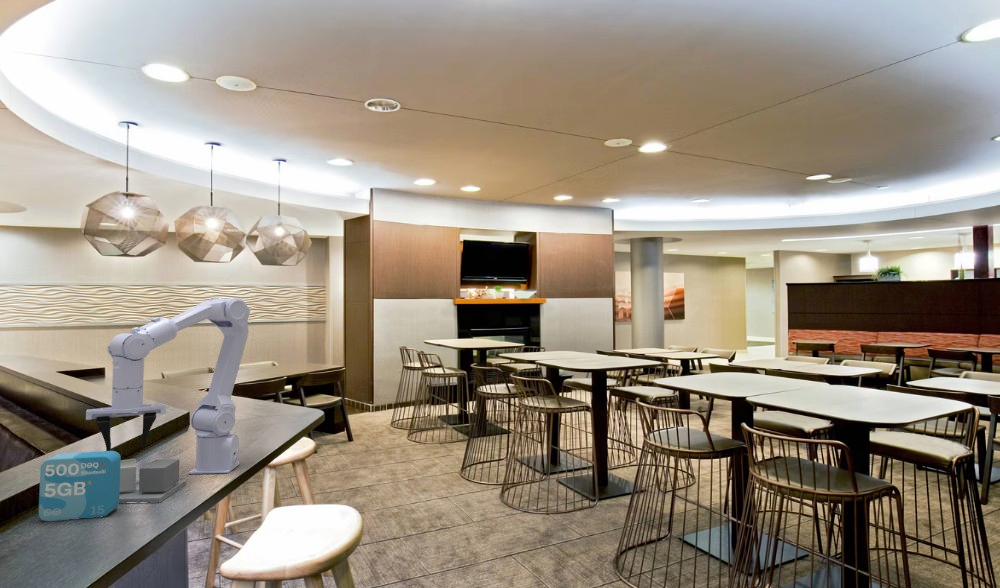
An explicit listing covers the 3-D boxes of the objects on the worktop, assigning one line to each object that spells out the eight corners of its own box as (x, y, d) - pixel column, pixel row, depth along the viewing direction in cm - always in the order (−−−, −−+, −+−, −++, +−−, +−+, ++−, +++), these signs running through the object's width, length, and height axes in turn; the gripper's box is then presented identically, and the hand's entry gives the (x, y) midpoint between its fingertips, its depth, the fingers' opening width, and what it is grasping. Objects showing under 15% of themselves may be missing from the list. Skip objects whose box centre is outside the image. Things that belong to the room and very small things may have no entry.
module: (135, 481, 124) (136, 458, 124) (135, 489, 118) (136, 465, 118) (113, 484, 122) (114, 460, 122) (113, 492, 116) (113, 468, 116)
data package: (37, 522, 104) (40, 459, 104) (50, 514, 108) (52, 453, 109) (109, 517, 107) (112, 455, 107) (119, 509, 111) (121, 450, 112)
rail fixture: (185, 484, 127) (186, 456, 127) (159, 502, 115) (160, 471, 115) (93, 486, 125) (94, 457, 125) (57, 505, 113) (58, 473, 113)
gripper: (165, 383, 128) (163, 441, 128) (88, 387, 120) (86, 449, 120) (166, 386, 122) (164, 447, 122) (85, 391, 114) (83, 456, 114)
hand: (126, 448), depth 120 cm, fingers open, 6 cm apart
